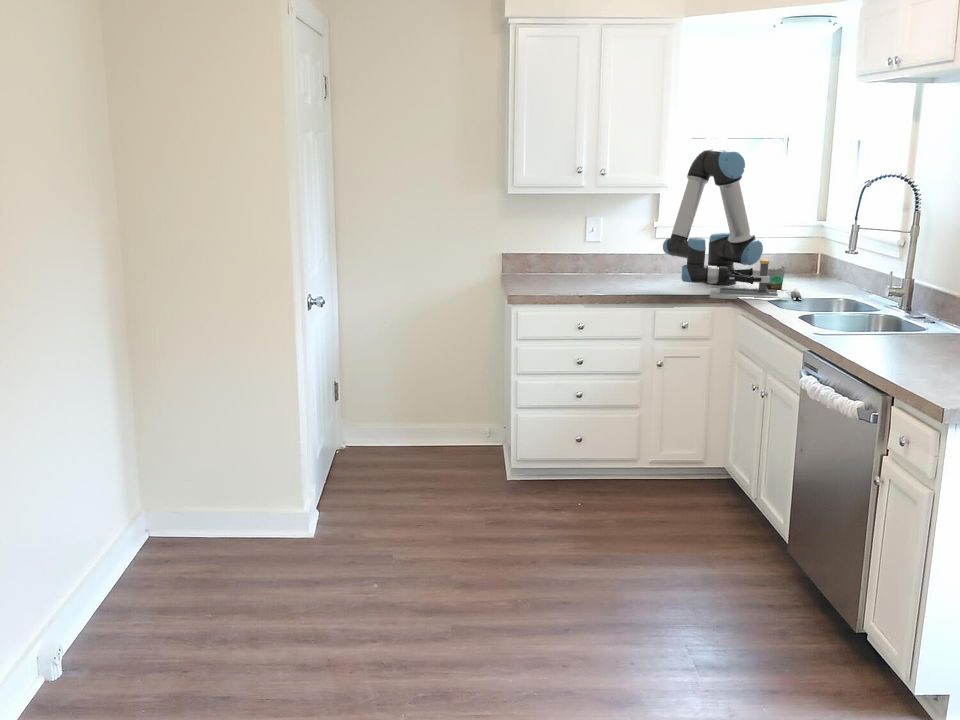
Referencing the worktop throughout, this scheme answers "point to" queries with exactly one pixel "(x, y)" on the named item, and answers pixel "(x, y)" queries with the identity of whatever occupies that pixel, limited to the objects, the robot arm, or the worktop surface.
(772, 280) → the food container
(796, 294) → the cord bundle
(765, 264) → the lever
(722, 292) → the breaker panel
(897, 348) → the worktop surface
